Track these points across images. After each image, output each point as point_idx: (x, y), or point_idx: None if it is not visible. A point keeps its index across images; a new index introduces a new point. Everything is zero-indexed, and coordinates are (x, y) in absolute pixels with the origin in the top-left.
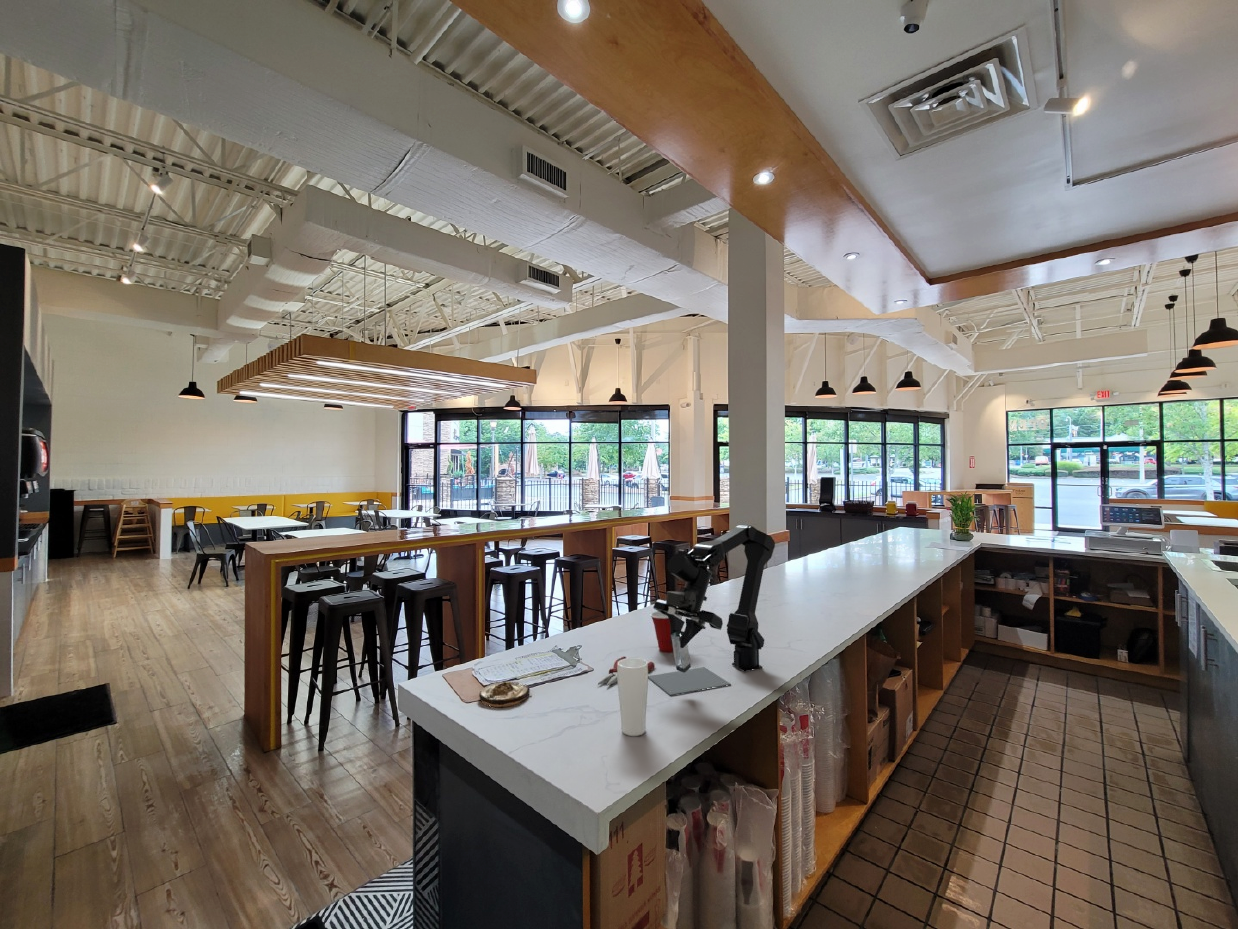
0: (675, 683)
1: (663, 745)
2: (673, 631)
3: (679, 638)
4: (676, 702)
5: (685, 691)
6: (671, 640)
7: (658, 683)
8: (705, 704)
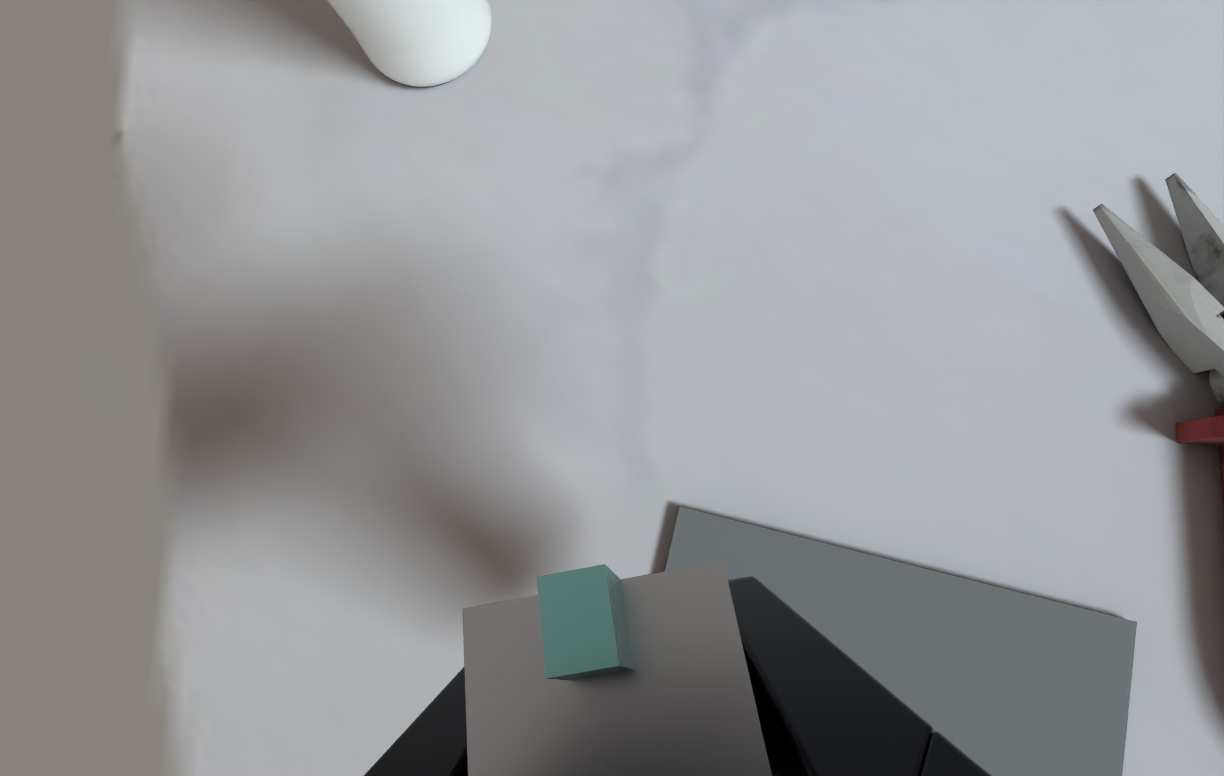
0: None
1: (231, 78)
2: (803, 738)
3: (475, 623)
4: (570, 471)
5: None
6: (759, 604)
7: (925, 584)
8: (415, 616)
